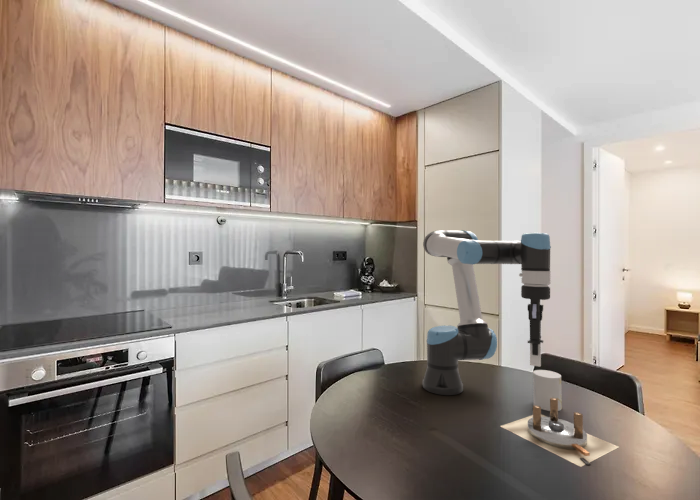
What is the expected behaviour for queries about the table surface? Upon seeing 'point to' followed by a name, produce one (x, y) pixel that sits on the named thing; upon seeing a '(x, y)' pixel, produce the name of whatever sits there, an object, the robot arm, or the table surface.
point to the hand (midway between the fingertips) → (535, 365)
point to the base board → (593, 447)
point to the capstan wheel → (558, 429)
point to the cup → (546, 388)
